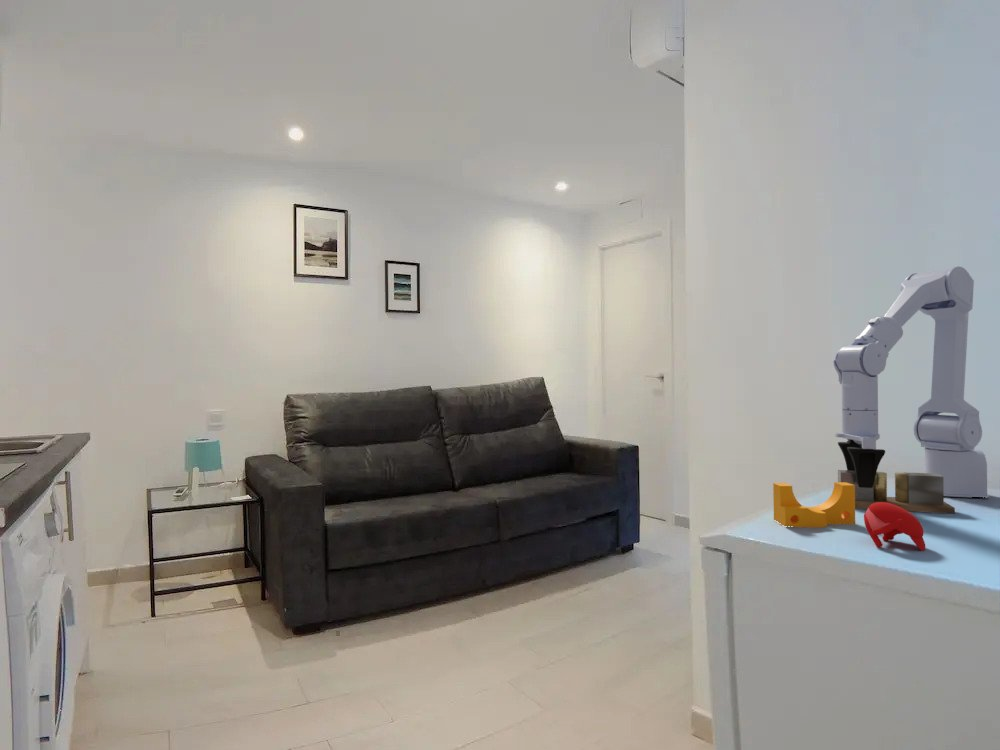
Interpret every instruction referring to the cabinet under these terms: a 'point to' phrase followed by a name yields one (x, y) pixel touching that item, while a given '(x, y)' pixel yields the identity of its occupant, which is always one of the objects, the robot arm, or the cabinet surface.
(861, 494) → the grey post
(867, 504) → the hinge jig
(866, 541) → the cabinet surface
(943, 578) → the cabinet surface
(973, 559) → the cabinet surface
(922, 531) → the red animal figurine
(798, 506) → the pipe clamp
